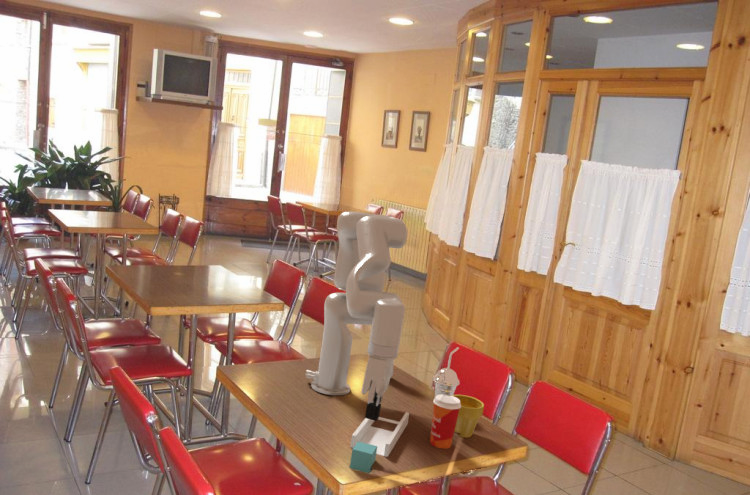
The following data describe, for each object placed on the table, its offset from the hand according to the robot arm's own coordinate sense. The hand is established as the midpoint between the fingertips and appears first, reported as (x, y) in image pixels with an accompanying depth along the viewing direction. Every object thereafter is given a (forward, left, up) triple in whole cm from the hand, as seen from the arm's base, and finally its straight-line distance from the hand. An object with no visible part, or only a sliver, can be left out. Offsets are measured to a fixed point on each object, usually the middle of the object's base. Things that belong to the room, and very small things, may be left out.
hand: (371, 418), depth 165 cm
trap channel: (0, +13, -11) cm, 17 cm away
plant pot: (+20, +31, -11) cm, 38 cm away
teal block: (+1, -3, -8) cm, 9 cm away
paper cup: (+16, +17, -11) cm, 26 cm away
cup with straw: (+12, +45, -11) cm, 48 cm away
